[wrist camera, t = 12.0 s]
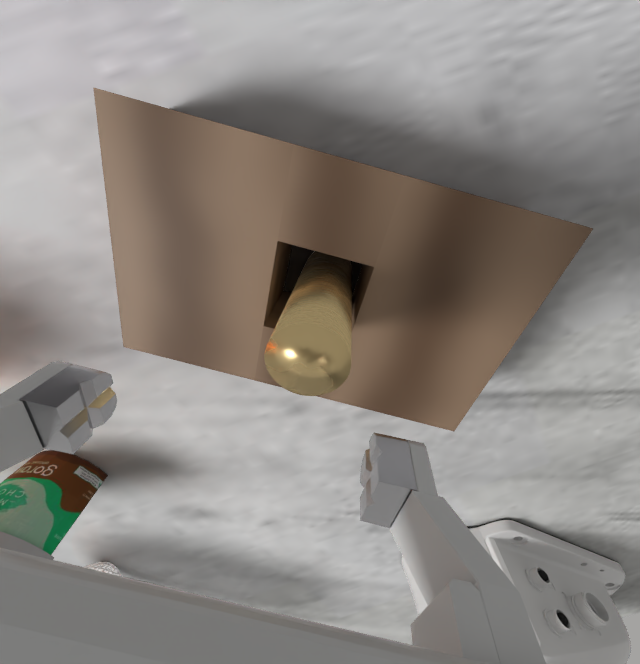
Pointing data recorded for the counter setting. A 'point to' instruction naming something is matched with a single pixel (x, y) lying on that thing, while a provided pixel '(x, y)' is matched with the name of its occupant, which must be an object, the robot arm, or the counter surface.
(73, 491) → the food container
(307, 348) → the peg
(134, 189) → the hole block
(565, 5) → the counter surface
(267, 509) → the counter surface
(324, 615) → the counter surface
